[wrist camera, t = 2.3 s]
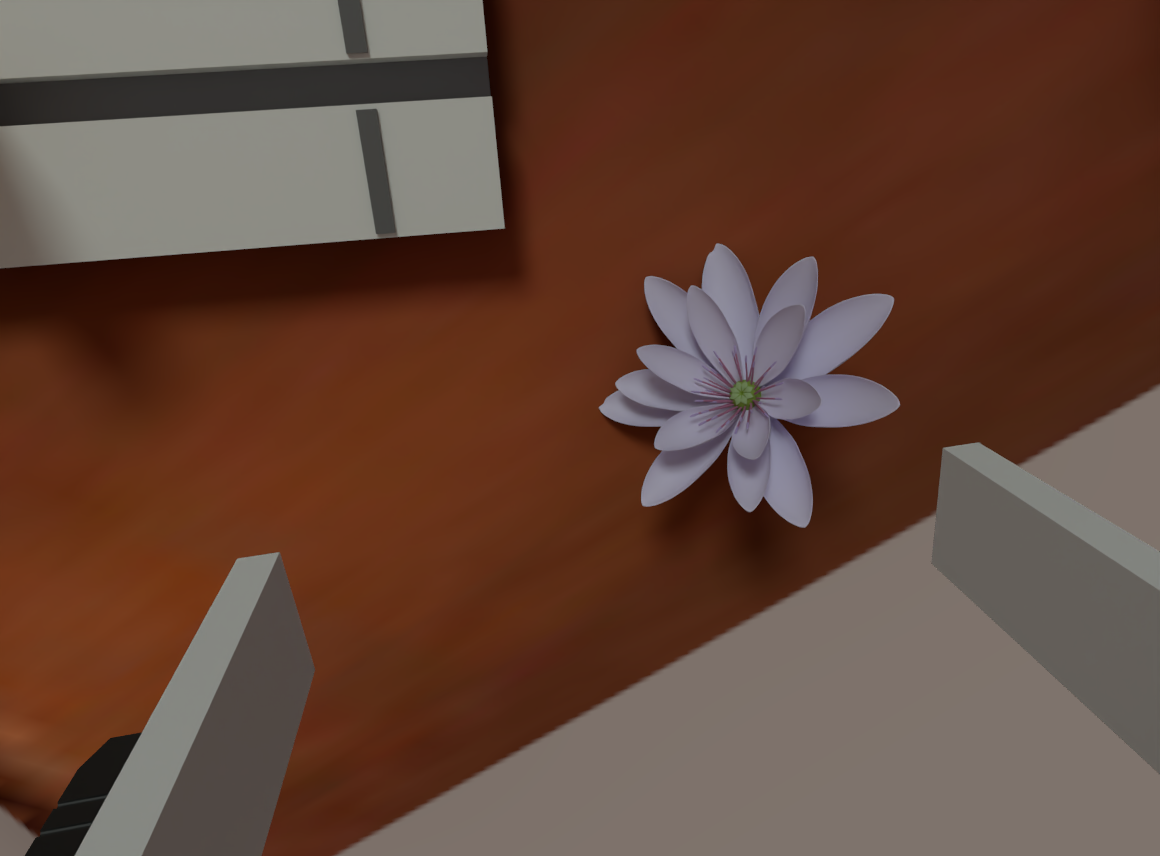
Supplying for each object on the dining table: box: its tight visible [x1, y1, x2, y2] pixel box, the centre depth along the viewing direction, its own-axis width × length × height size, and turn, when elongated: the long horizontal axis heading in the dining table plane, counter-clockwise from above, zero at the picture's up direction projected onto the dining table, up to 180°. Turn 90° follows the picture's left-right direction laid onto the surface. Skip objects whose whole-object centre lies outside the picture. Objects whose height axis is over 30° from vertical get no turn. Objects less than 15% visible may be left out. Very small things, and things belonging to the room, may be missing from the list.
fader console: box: [0, 0, 505, 268], centre depth 29 cm, size 12×26×3 cm, turn 93°
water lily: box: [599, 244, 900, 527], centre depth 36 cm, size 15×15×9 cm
